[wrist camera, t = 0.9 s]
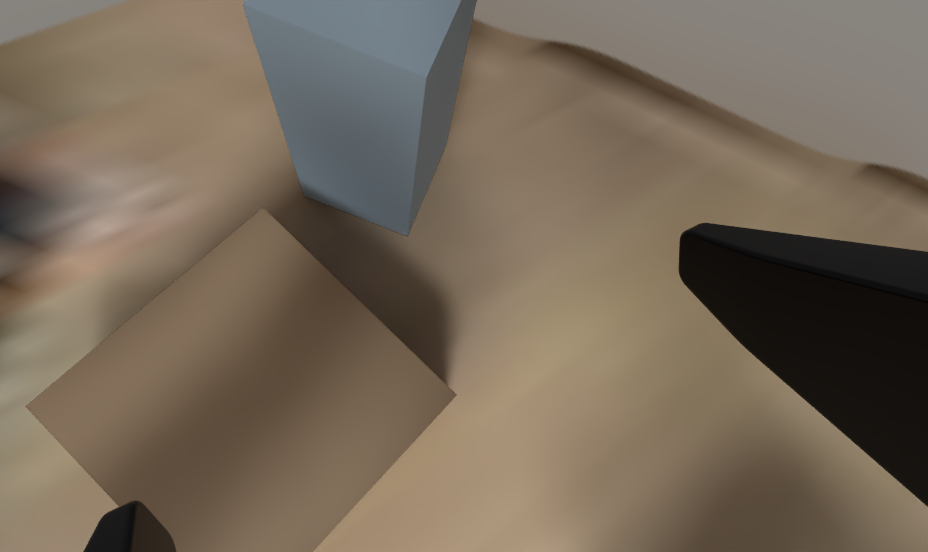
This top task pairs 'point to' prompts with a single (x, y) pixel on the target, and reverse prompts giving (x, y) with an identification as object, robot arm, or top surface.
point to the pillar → (364, 95)
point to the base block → (245, 400)
